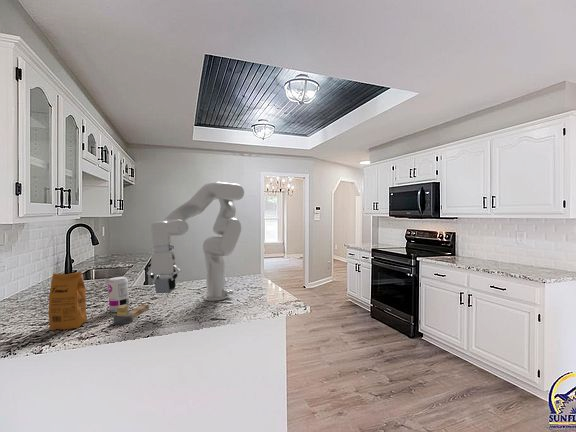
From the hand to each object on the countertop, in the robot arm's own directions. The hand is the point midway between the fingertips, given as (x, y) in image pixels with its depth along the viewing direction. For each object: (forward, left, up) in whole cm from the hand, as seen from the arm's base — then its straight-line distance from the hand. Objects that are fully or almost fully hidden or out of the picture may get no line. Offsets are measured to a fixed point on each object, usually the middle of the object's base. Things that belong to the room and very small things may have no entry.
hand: (165, 288), depth 140 cm
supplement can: (+26, -5, -11) cm, 28 cm away
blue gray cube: (0, 0, -1) cm, 1 cm away
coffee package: (+35, +15, -11) cm, 39 cm away
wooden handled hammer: (+14, +4, -11) cm, 18 cm away
